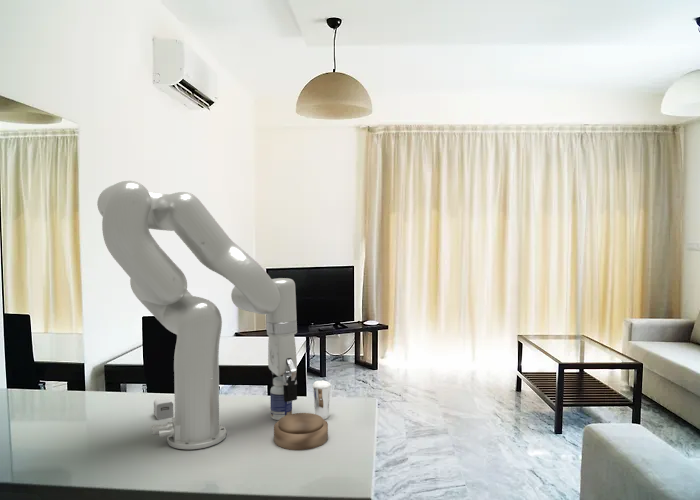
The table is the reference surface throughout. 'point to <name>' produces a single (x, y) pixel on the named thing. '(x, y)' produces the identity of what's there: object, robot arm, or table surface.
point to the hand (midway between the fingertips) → (284, 394)
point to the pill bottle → (279, 400)
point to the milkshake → (321, 398)
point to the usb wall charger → (163, 408)
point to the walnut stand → (300, 431)
